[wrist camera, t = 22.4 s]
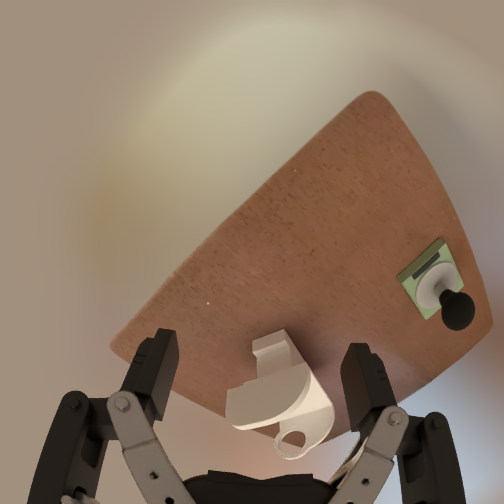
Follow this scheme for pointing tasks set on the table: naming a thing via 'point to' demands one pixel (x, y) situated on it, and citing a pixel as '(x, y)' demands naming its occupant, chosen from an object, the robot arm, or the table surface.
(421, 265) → the scale
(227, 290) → the table surface
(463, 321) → the light bulb
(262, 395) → the tape dispenser
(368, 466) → the robot arm
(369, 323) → the table surface
